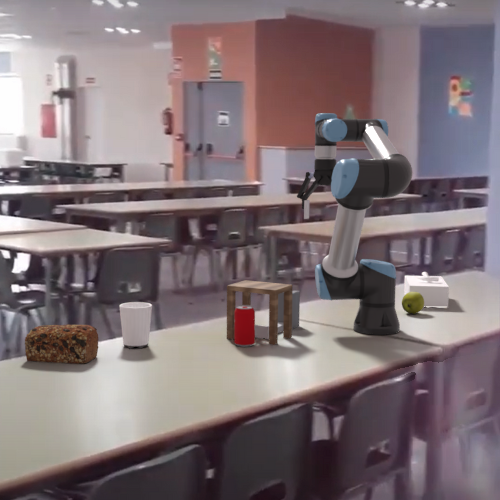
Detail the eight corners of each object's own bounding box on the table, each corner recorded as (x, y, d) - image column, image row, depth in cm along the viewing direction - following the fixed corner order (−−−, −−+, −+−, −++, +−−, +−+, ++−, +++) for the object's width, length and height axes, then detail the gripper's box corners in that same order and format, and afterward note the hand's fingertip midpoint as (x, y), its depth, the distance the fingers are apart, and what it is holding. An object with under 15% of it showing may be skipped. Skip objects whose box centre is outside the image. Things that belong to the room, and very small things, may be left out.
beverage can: (253, 342, 286) (254, 304, 284) (255, 347, 280) (255, 308, 278) (233, 342, 285) (233, 304, 284) (235, 347, 279) (235, 308, 278)
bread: (99, 356, 267) (99, 323, 266) (85, 365, 257) (85, 330, 255) (39, 353, 271) (39, 319, 270) (23, 361, 260) (22, 327, 259)
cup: (158, 344, 282) (158, 303, 281) (141, 351, 273) (141, 309, 272) (130, 341, 286) (130, 300, 285) (113, 347, 278) (112, 306, 276)
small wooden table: (291, 337, 294) (292, 284, 292) (274, 344, 283) (275, 290, 281) (244, 331, 302) (245, 280, 300) (226, 338, 291) (226, 285, 289)
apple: (427, 312, 336) (428, 291, 335) (417, 316, 329) (418, 294, 328) (407, 310, 340) (408, 289, 339) (397, 314, 333) (398, 292, 332)
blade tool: (299, 326, 311) (299, 291, 310) (267, 339, 291) (268, 301, 289) (283, 324, 314) (283, 289, 312) (251, 337, 294) (251, 299, 292)
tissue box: (408, 308, 346) (409, 279, 345) (404, 296, 371) (404, 269, 369) (448, 309, 345) (449, 280, 343) (440, 297, 369) (441, 270, 368)
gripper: (363, 158, 316) (361, 220, 318) (297, 157, 328) (296, 217, 330) (355, 159, 309) (353, 222, 312) (288, 157, 321) (287, 218, 324)
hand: (324, 219), depth 321 cm, fingers open, 13 cm apart
